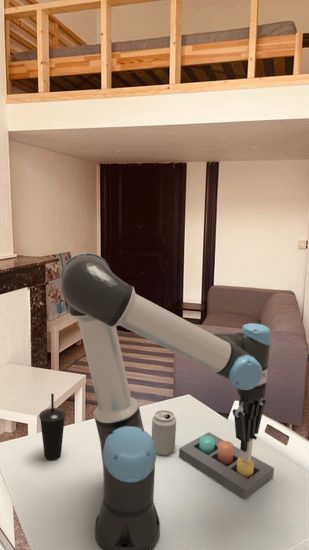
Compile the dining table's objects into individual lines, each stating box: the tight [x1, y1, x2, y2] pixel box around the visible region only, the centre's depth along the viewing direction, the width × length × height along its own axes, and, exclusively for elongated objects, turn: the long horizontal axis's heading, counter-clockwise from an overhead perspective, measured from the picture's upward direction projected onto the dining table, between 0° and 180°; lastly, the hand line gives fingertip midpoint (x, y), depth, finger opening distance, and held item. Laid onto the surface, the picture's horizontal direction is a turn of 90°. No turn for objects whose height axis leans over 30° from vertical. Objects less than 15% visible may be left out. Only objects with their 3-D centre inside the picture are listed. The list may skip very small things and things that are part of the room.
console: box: [178, 431, 275, 501], centre depth 119 cm, size 14×24×3 cm, turn 43°
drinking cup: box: [38, 393, 67, 462], centre depth 120 cm, size 8×8×20 cm
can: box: [151, 409, 177, 456], centre depth 126 cm, size 8×8×12 cm
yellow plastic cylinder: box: [236, 457, 254, 479], centre depth 114 cm, size 5×5×5 cm
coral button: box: [217, 440, 235, 466], centre depth 119 cm, size 5×5×5 cm
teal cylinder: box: [199, 434, 215, 455], centre depth 124 cm, size 5×5×5 cm
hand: (245, 459), depth 113 cm, fingers closed
